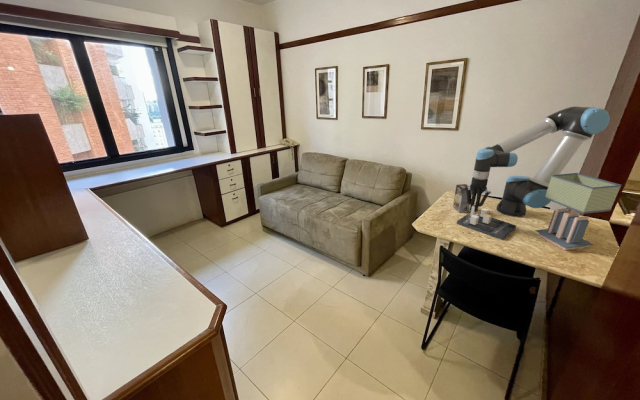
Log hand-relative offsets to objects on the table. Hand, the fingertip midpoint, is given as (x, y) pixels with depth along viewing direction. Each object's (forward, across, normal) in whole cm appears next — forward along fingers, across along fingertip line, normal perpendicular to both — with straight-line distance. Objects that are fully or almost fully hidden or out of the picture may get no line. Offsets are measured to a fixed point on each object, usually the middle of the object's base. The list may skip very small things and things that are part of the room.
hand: (472, 215), depth 150 cm
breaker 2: (+1, +4, +6) cm, 8 cm away
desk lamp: (+4, +39, +11) cm, 40 cm away
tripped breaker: (+1, +8, 0) cm, 8 cm away
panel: (+4, +8, 0) cm, 9 cm away
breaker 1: (+1, +4, -7) cm, 8 cm away
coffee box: (+4, -12, +12) cm, 18 cm away
